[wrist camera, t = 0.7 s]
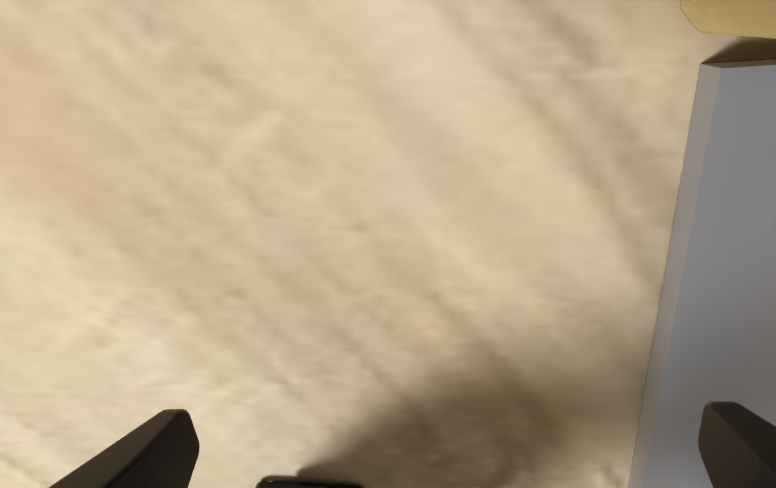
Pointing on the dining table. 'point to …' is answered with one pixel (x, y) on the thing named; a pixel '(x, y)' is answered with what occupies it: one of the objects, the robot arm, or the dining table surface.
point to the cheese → (732, 17)
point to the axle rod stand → (715, 277)
